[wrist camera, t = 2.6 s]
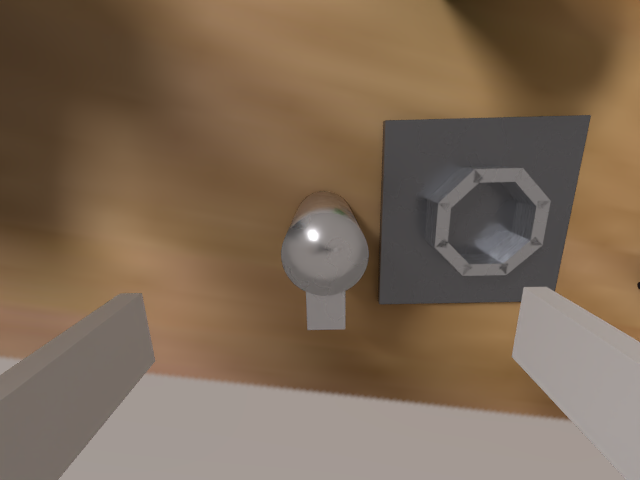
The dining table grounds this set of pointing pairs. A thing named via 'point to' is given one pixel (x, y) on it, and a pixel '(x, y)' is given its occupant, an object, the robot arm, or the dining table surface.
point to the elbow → (324, 257)
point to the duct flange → (475, 206)
